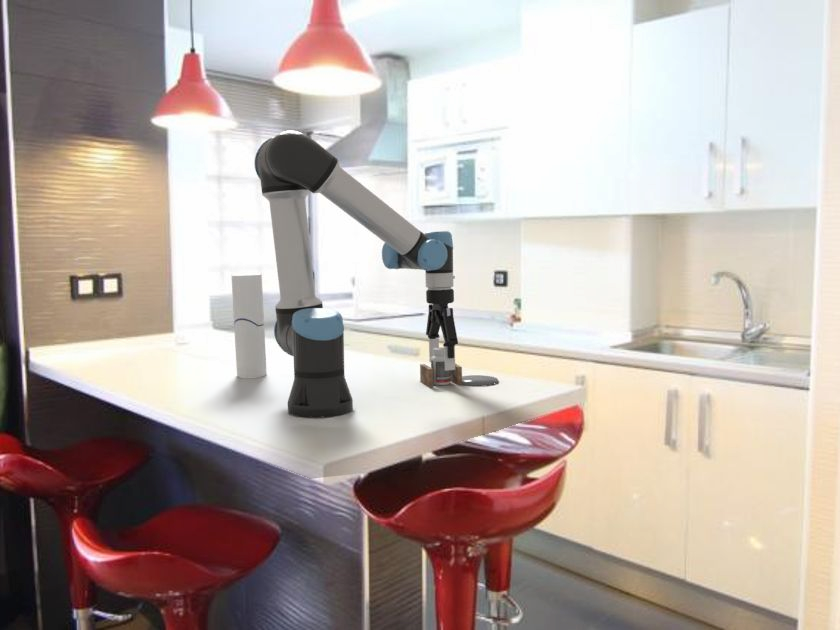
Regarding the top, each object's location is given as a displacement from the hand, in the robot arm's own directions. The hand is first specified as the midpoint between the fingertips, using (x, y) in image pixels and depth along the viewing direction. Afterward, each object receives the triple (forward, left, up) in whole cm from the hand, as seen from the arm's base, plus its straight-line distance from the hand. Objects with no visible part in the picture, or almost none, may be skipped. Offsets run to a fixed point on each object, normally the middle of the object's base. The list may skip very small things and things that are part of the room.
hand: (441, 365), depth 192 cm
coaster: (-1, -10, -5) cm, 11 cm away
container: (+31, +49, -5) cm, 59 cm away
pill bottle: (0, 0, -5) cm, 5 cm away
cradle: (0, 0, -5) cm, 5 cm away
